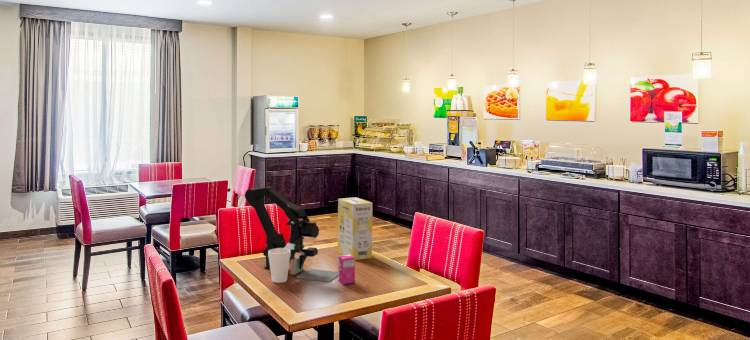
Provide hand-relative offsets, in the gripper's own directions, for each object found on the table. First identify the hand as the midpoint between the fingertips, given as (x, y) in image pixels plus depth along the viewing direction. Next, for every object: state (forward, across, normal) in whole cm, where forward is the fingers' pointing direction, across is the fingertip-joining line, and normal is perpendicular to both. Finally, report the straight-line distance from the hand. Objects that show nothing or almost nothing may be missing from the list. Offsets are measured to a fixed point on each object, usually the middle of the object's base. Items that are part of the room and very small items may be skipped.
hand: (296, 268), depth 244 cm
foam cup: (+1, -1, -14) cm, 14 cm away
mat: (+1, +12, -2) cm, 12 cm away
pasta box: (+2, +14, +37) cm, 40 cm away
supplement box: (+1, +27, -7) cm, 28 cm away
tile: (+1, 0, 0) cm, 1 cm away
